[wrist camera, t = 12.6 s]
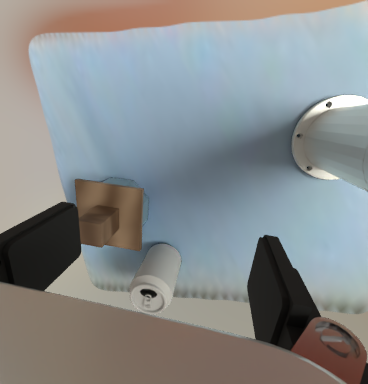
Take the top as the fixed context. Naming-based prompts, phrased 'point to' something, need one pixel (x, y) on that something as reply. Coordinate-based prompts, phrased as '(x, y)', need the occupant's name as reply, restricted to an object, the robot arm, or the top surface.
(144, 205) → the bowl
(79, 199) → the lid
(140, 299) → the can
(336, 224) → the top surface
